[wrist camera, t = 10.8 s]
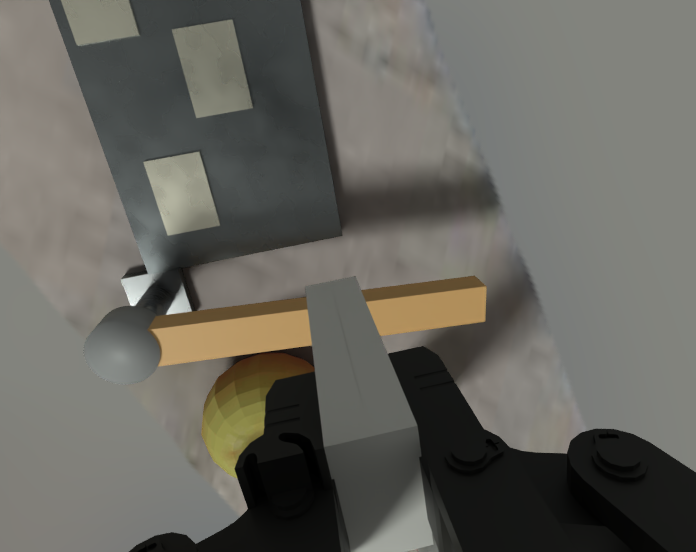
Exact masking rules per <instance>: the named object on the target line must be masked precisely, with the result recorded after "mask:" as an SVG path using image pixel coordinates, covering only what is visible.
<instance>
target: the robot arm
mask: <svg viewBox="0 0 696 552" xmlns="http://www.w3.org/2000/svg"><path fill="white" fill-rule="evenodd" d="M305 290H306V299H307V307H308V316H309V324H310V333H311V341H312V350H313V359H314V367H315V371H314V372H310V373H305V374H301V375H296V376H292V377H287V378H283V379H278V380H275V382H274V383H273V385H272V387H271V388H270V390H269V391H268V393H267V395H266V401H265V418H264V434H263V435H261V436H260V437H258V438H257V439H255V440H254V441H252V442H251V443H250V444H249V445H248V446H247V447H246V448H245V449H244V451H243V452H242V453H241V454H240V455H239V458H238V460H237V463H236V466H235V468H234V469H235V472H236V475H237V478H238V481H239V484H240V487H241V489H242V492H243V495H244V498H245V501H246V504H247V507H248V509H247V511H246V512H245V513H244V514H243V515H242V516H241V517H240V518H238V519H237V520H236V521H235V522H234V523H232V524H231V525H229V526H228V527H226V528H224V529H223V530H221V531H219V532H217V533H215V534H214V535H212V536H210V537H208V538H206V539H205V540H202V541H201V542H199V543H197V544H195V543H194V542H193V541H192V540H191V539H190V538H189V537H188V536H187V535H183V534H178V533H172V532H171V533H166V534H162V535H157V536H154V537H152V538H150V539H148V540H146V541H144V542H142V543H140V544H138V545H136V546H135V547H134V548H133V549H132V550H130V551H129V552H406V551H410V550H414V549H418V548H422V547H426V546H430V545H433V537H432V533H433V536H434V539H435V542H436V545H437V547H438V550H439V552H696V472H694V471H693V470H691V469H690V468H688V467H686V466H685V465H683V464H682V463H680V462H679V461H677V460H676V459H674V458H673V457H671V456H670V455H668V454H667V453H665V452H664V451H662V450H661V449H659V448H657V447H656V446H655V445H653V444H651V443H650V442H648V441H646V440H644V439H642V438H640V437H638V436H636V435H634V434H631V433H627V432H623V431H619V430H614V429H593V430H589V431H586V432H582V433H580V434H579V435H577V436H576V437H575V438H574V439H573V440H571V442H570V445H569V448H568V452H567V454H563V453H534V452H526V451H520V450H517V449H513V448H510V447H509V446H508V445H507V444H506V443H505V442H504V441H503V440H502V439H501V438H500V437H499V436H497V435H495V434H493V433H491V432H489V431H487V430H484V429H483V427H482V426H481V424H480V422H479V421H478V419H477V417H476V416H475V414H474V413H473V411H472V409H471V408H470V406H469V404H468V403H467V401H466V400H465V398H464V396H463V395H462V393H461V391H460V390H459V388H458V387H457V385H456V384H455V383H454V380H453V378H452V377H451V375H450V374H449V372H447V369H446V367H445V365H444V364H443V362H442V361H441V359H440V357H439V356H438V355H437V354H435V353H433V352H432V351H430V350H428V349H427V348H425V347H424V346H421V347H417V348H412V349H407V350H403V351H398V352H394V353H389V354H387V351H386V349H385V346H384V344H383V342H382V339H381V337H380V334H379V332H378V330H377V327H376V325H375V322H374V320H373V318H372V315H371V313H370V310H369V308H368V306H367V303H366V301H365V298H364V296H363V294H362V291H361V289H360V286H359V284H358V282H357V279H356V277H355V276H354V277H349V278H344V279H340V280H335V281H330V282H325V283H320V284H315V285H311V286H306V287H305Z"/></svg>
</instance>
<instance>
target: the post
mask: <svg viewBox="0 0 696 552" xmlns="http://www.w3.org/2000/svg"><path fill="white" fill-rule="evenodd" d="M121 282H122V284H123V287H124V289H125V292H126V294H127V297H128V300H129V302H130V305H131V306H138V307H142V308H145V309H148V310H150V311H152V312H153V313H155V314H156V315H157V316H160V315H168V314H176V313H184V312H192V311H195V309H194V306H193V303H192V300H191V297H190V294H189V291H188V288H187V285H186V282H185V279H184V276H183V273H182V270H181V268H179V269H174V270H169V271H164V272H159V273H154V274H149V275H148V272H147V271H144V272H139V273H134V274H129V275H124V276H123V277H122V278H121Z"/></svg>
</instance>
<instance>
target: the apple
mask: <svg viewBox="0 0 696 552" xmlns="http://www.w3.org/2000/svg"><path fill="white" fill-rule="evenodd" d="M314 371H315V368H314V367H313V366H312V365H310V364H309V363H308V362H307V361H305V360H303V359H301V358H298V357H295V356H292V355H289V354H285V353H261V354H258V355H255V356H252V357H249V358H246V359H243V360H241V361H239V362H237V363H236V364H235V365H233V366H232V367H231V368H229V369H228V370H227V371H226V372H224V373H223V374H222V375H220V376H219V377H218V379H217V380H216V382H215V384H214V385H213V387H212V389H211V390H210V392H209V394H208V396H207V399H206V401H205V404H204V411H203V422H202V434H201V435H202V437H203V439H204V442H205V444H206V446H207V449H208V451H209V453H210V455H211V457H212V459H213V461H214V462H215V463H216V464H218V465H219V466H220V467H221V468H222V469H223V470H224V471H225V472H227V473H228V474H229V475H231V476H233V477H235V478H237V475H236V472H235V469H234V468H235V466H236V463H237V460H238V458H239V455H240V454H241V453H242V452H243V451H244V449H245V448H246V447H247V446H248V445H249V444H250V443H251V442H252V441H254V440H255V439H257V438H258V437H260V436H261V435H263V434H264V418H265V401H266V395H267V393H268V391H269V390H270V388H271V387H272V385H273V383H274V382H275V380H278V379H283V378H287V377H292V376H296V375H301V374H305V373H310V372H314Z"/></svg>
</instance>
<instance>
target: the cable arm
mask: <svg viewBox="0 0 696 552" xmlns="http://www.w3.org/2000/svg"><path fill="white" fill-rule="evenodd" d="M361 291H362V294H363V296H364V298H365V301H366V303H367V306H368V308H369V310H370V313H371V315H372V318H373V320H374V322H375V325H376V327H377V330H378V332H379V334H380V336H384V335H391V334H399V333H406V332H413V331H420V330H428V329H435V328H442V327H450V326H457V325H464V324H472V323H479V322H485V313H486V285H484V284H483V283H482V282H481V281H480V280H479V279H478V278H477V277H475V276H469V277H461V278H453V279H445V280H437V281H430V282H422V283H414V284H406V285H398V286H390V287H382V288H374V289H366V290H361ZM311 345H312V341H311V333H310V324H309V316H308V307H307V299H306V297H303V298H295V299H287V300H279V301H271V302H263V303H255V304H248V305H240V306H232V307H224V308H216V309H208V310H200V311H192V312H184V313H176V314H168V315H160V316H157V315H156V314H155V313H153V312H152V311H150V310H148V309H145V308H142V307H138V306H123V307H119V308H116V309H114V310H112V311H111V312H109V313H108V314H107V315H106V316H105V317H104V318H103V319H102V320H101V322H100V323H99V324H98V325H97V326H96V328H95V329H94V330H93V331H92V332H91V333H90V335H89V336H88V337H87V339H86V341H85V344H84V357H85V360H86V363H87V364H88V366H89V368H90V369H91V370H92V371H93V372H94V373H95V374H96V375H98V376H99V377H101V378H102V379H104V380H106V381H109V382H112V383H116V384H134V383H138V382H141V381H143V380H145V379H146V378H148V377H149V376H150V375H152V373H153V372H154V371H155V370H156V368H157V366H165V365H172V364H179V363H187V362H194V361H201V360H209V359H216V358H223V357H231V356H238V355H245V354H252V353H260V352H267V351H274V350H282V349H289V348H296V347H304V346H311Z"/></svg>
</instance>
